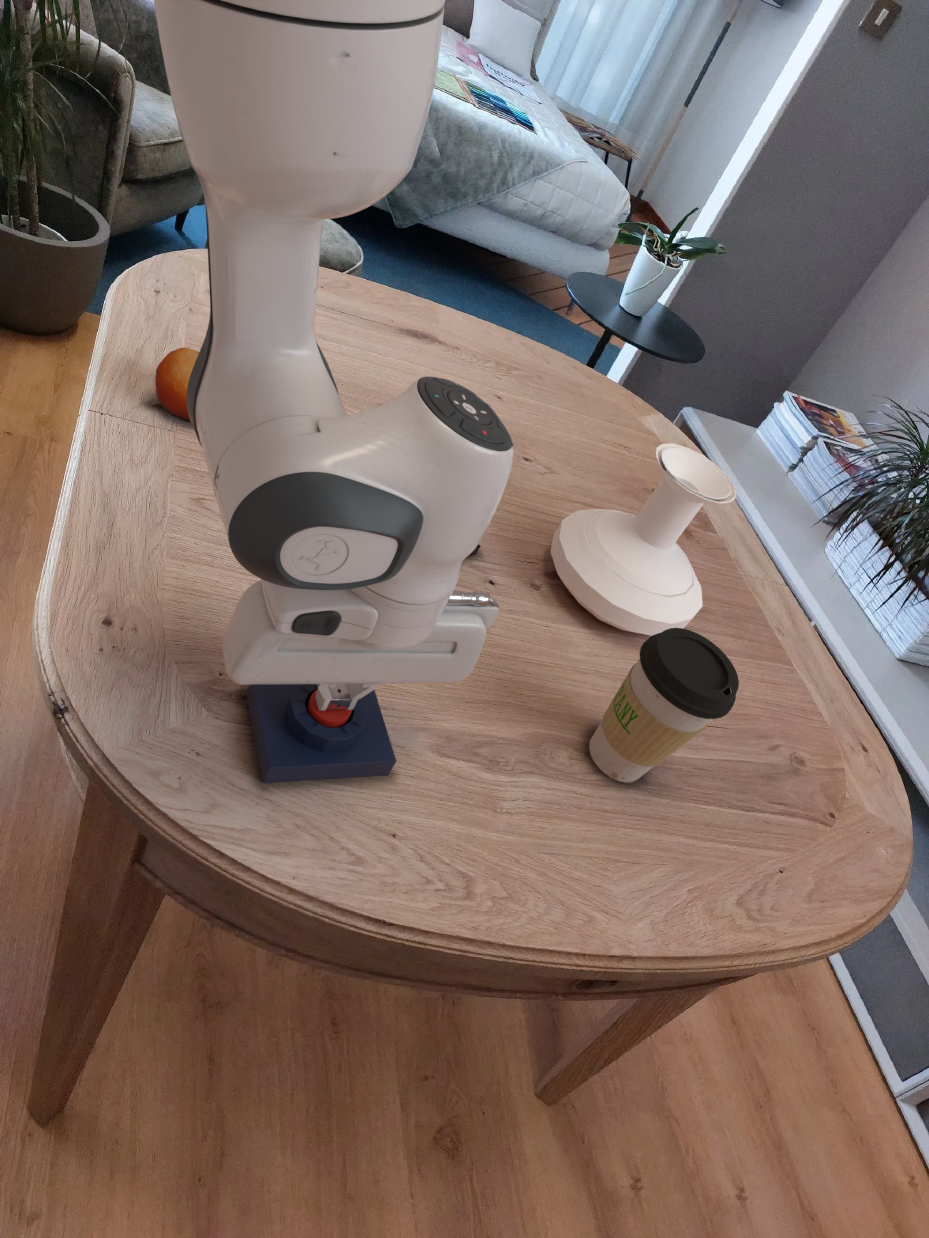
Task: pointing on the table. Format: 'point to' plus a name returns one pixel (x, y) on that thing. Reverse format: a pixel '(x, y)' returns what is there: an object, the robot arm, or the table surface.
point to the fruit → (175, 380)
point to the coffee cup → (663, 703)
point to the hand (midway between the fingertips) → (333, 704)
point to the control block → (315, 737)
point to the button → (327, 714)
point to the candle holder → (642, 549)
